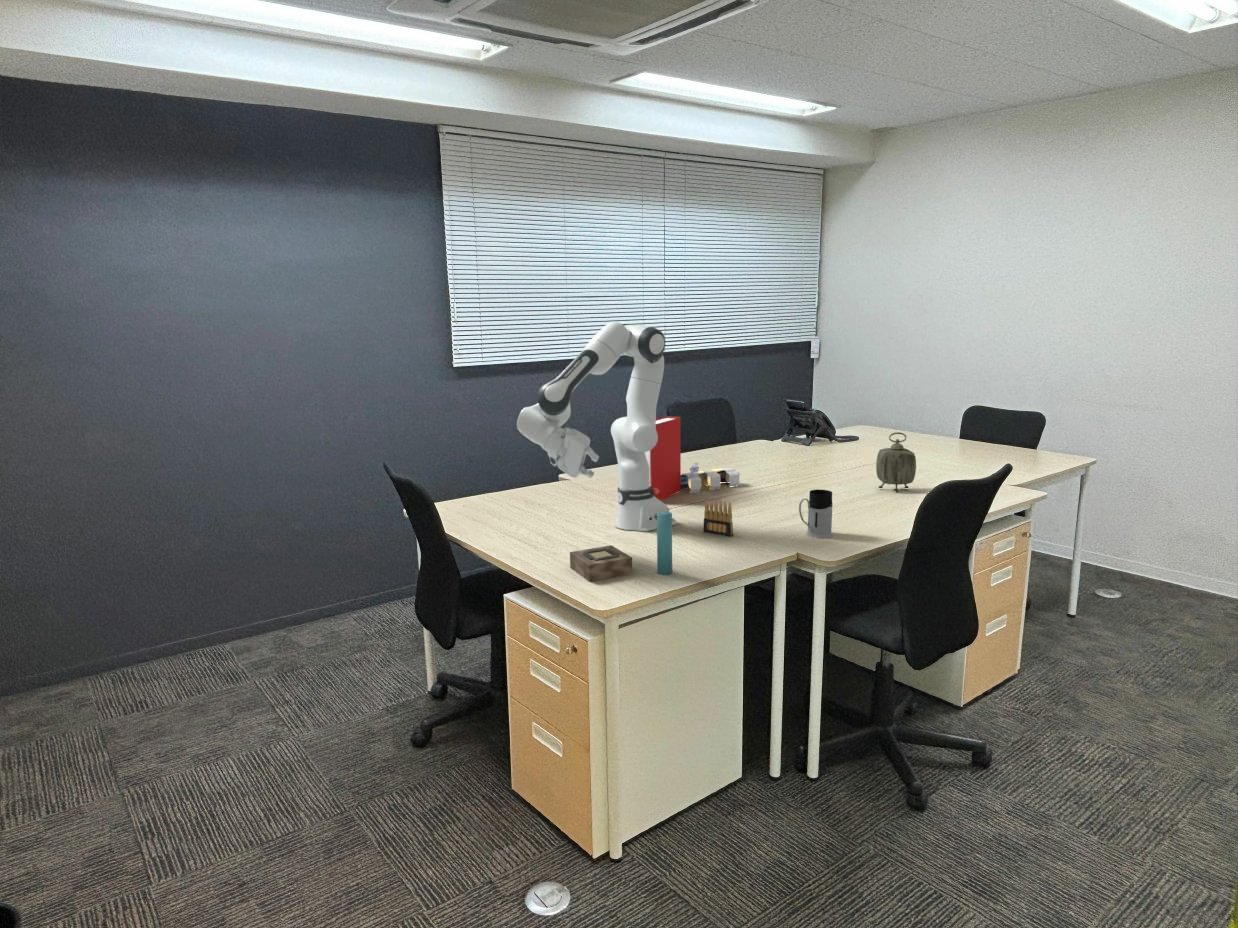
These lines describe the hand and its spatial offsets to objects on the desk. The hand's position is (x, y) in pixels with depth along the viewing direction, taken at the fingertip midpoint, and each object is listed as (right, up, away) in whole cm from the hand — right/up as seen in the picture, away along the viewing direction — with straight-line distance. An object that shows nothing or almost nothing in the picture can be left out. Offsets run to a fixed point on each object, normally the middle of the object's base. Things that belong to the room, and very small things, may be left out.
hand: (595, 467), depth 242 cm
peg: (+21, -31, -14) cm, 40 cm away
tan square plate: (+2, -27, -12) cm, 30 cm away
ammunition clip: (+42, -23, +24) cm, 54 cm away
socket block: (+2, -31, -12) cm, 33 cm away
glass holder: (+74, -24, +20) cm, 80 cm away
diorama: (+47, -10, +93) cm, 105 cm away
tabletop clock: (+124, -11, +82) cm, 149 cm away
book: (+24, -13, +81) cm, 85 cm away
